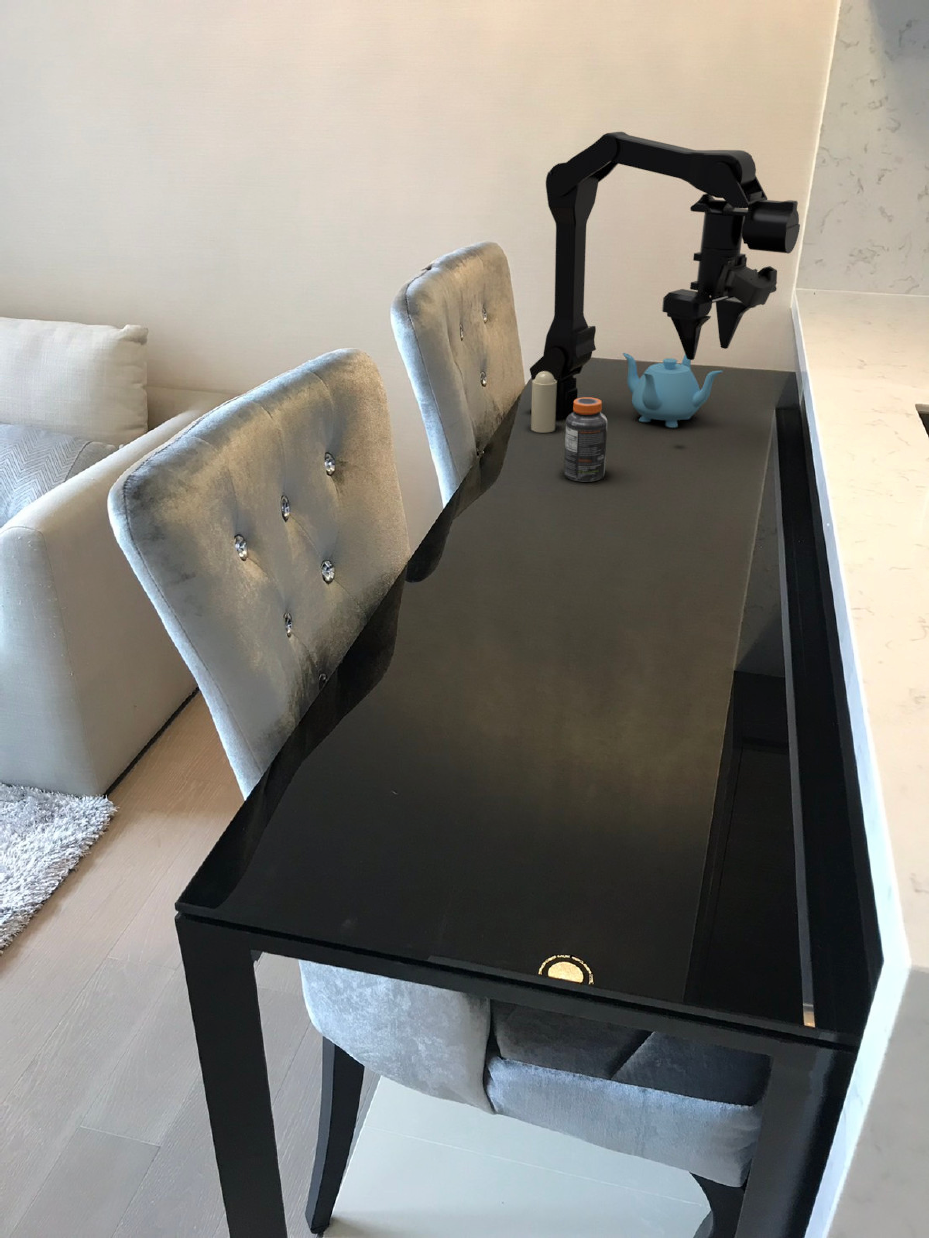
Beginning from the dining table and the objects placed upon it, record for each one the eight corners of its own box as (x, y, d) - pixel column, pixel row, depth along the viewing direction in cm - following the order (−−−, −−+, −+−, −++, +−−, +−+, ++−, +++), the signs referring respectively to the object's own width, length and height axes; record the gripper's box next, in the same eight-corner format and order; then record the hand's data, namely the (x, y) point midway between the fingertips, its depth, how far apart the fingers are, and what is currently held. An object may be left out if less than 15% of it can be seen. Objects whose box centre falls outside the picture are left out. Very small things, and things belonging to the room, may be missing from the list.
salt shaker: (525, 429, 165) (527, 371, 161) (541, 423, 168) (543, 366, 163) (544, 434, 163) (546, 376, 158) (560, 428, 165) (562, 371, 161)
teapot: (618, 409, 174) (621, 351, 169) (690, 405, 176) (696, 347, 171) (639, 433, 163) (644, 372, 158) (717, 428, 165) (724, 367, 160)
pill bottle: (608, 470, 149) (613, 396, 143) (599, 485, 144) (604, 408, 138) (569, 466, 150) (572, 392, 145) (559, 480, 145) (562, 404, 140)
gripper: (733, 262, 134) (719, 376, 142) (803, 245, 146) (786, 352, 154) (665, 251, 141) (654, 361, 149) (737, 236, 153) (723, 339, 160)
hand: (707, 353), depth 153 cm, fingers open, 9 cm apart
